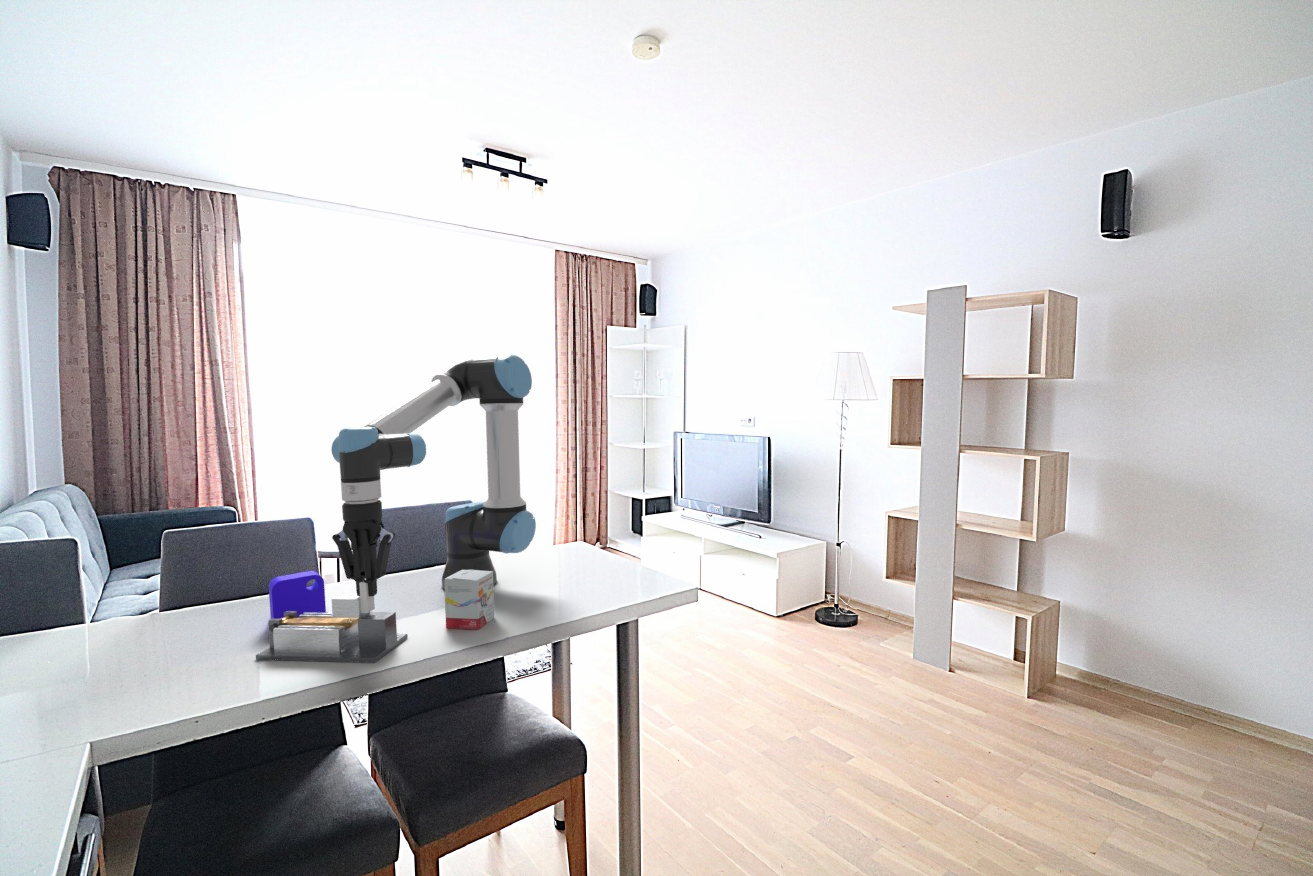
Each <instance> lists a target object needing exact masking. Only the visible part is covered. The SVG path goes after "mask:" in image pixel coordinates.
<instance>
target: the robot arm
mask: <svg viewBox="0 0 1313 876" xmlns="http://www.w3.org/2000/svg"><path fill="white" fill-rule="evenodd" d="M532 384H533V379H532V373H531V370H530V368H529V366H528V365H527V363H526V362H525V361H524V359H523V358H521V357H520V356H518V355H516V354H505V353H503V354H493V355H479V356H478V355H477V356H476V355H475V356H469V357H466V358H464V359H462V360H459V361H457V362H456V363H454V364H451V365H450V366H447V368H445V369H443V370H442V371H440V372H439V373H437V374H435V375H434V376H433V377H432V379H431V383H429V384H427V385H426V386H424V387H423V388H421V389H420V390H418V391H417V392H415V393H414V394H412V395H410V396H409V397H407V398H406V399H404V400H403V401H401V402H400V403H398V404H397V405H396V406H393V407H392V408H391V409H389V410H388V411H385V413H383V414H381V415H380V416H378V417H377V418H375V419H374V420H372V421H371V422H369V423H368V424H366V425H365V426H363V427H346V428H342V429H340V430H339V432H338V436H337V437H335V439H334V440H333V442H332V444H331V449H330V450H331V455H332V458H333V459H334V460H335V461H336V462H337V463H338V464H339V471H340V472H339V473H340V487H341V488H340V489H341V500H342V501H343V502H344V503H342V505H341V508H342V509H341V511H342V520H343V521H344V523H343V525H342V530H340V531H339V532H338V533H336V534H333V535H332V537H331V539H332V540H333V542H334V543H335V545H336V546H337V549H338V553H339V556H340V560H341V563H342V566H343V567H342V568H343V570H344V574H345V578H346V579H347V580H352V581H354V582H355V586H356V587H355V588H356V590H355V591H356V592H355V593H357V596H360V603H361V613H369V612H373V611H374V610H376V609H375V608H376V607H375V605H376V604H375V596H376V595H377V593H378V580H379V579H380V578H383V577H384V576H386V572H387V569H388V568H387V567H388V562H389V557H390V551H391V546H392V542H393V541H394V539H395V538H396V533H395V532H393V531H392V532H389V531H388V530H386V529H385V526H384V524H383V522H382V518H383V505H382V504H383V503H382V501H381V500H380V498H381V497H382V487H381V483H382V482H381V471H383V470H388V469H397V468H398V469H399V468H406V467H407V468H411V467H412V466H416V465H420V464H421V463H423V461H424V460H425V457H426V455H427V445H426V442H425V440H424V438H423V437H422V436H421V435H419V434H418V433H414V431H415V430H417V429H419V428H420V427H421V426H423V425H424V424H425V423H427V422H428V421H430V420H431V419H432V418H433V417H436V415H438V414H439V413H440V412H442V411H443V410H445V409H446V408H448V407H455V406H457V405H459V404H460V403H461V402H462V403H463V401H468V400H472V399H479V406H480V407H481V408H482V409H483V410H484V411H485V425H486V426H485V429H486V431H485V432H486V460H487V461H486V463H487V489H488V490H487V493H488V496H487V499H486V501H477V502H470V503H469V502H468V503H464V504H459V505H453V506H451V507H449V508H447V510H445V521H444V529H445V543H446V563H445V566H444V569H443V573H442V576H441V588H442V589H444V590H445V584H444V580H445V578H447V577H449V576H451V575H453V574H455V573H457V572H459V571H461V570H480V571H493V585H495V584H496V583H498V582H497V578H498V577H497V572H496V569H495V566H494V564H493V561H492V558H491V556H490V552H496V553H497V552H498V553H502V554H519V553H522V552H523V551H525V550H526V549H527V548H528V547H529V546H530V544H531V542H532V541H533V540H534V536H535V534H536V527H537V523H536V518H535V516H534V515H533V513H532V512H530V511H529V510H527V501H525V500H524V499H523V498H522V497H521V476H520V474H521V471H520V469H521V467H520V466H521V465H520V441H519V440H520V439H519V434H520V433H519V411H520V410H519V409H521V408H522V407H523V405H524V398H525V397H527V396H528V395H529V393H531V392H530V391H531V389H532V386H533V385H532ZM378 539H379V541H380V543H379V545H378ZM377 547H378V552H377Z"/></svg>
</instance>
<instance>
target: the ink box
mask: <svg viewBox="0 0 1313 876" xmlns="http://www.w3.org/2000/svg"><path fill="white" fill-rule="evenodd" d="M444 584H445V589H444V604H445V613H444V614H445V628H446V629H453V630H454V629H456V630H477V631H478V630H480V629H481V628H482V627H484V626H485V625H487V623H489V622H491V621H492V620H493V619H495V603H494V602H495V601H494V600H495V599H494V597H495V596H494V595H495V594H494V584H493V571H480V570H461V571H459V572H457V573H455V574H453V575H451V576H449V577H447V578H445V580H444Z"/></svg>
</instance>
